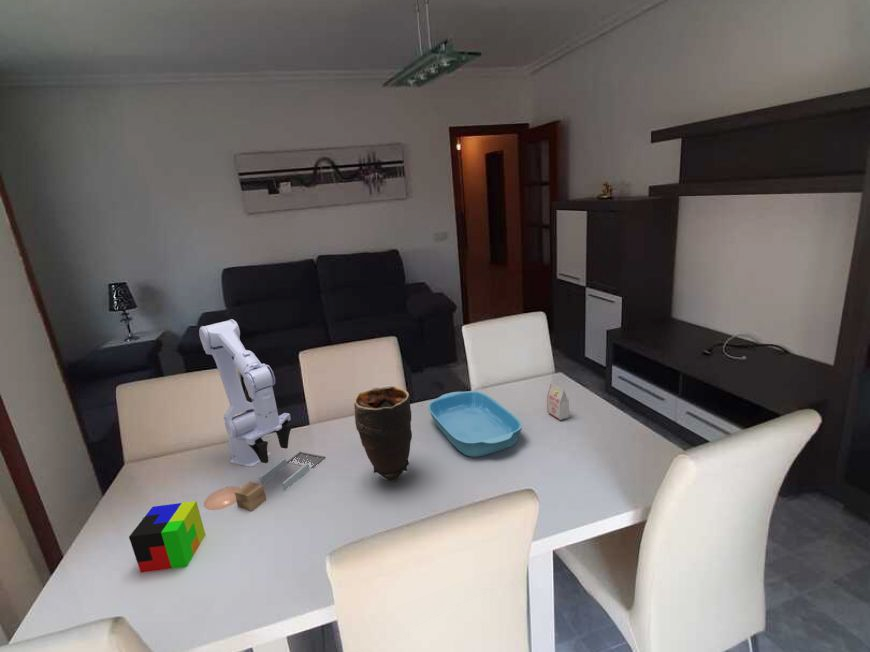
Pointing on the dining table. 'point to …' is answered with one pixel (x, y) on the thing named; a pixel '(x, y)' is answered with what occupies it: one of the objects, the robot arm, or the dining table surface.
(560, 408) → the milk carton
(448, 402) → the casserole dish
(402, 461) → the clay pot
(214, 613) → the dining table surface
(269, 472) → the grey parallel rails
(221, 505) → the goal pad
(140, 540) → the puzzle toy
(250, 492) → the walnut block
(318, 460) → the tray
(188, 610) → the dining table surface
